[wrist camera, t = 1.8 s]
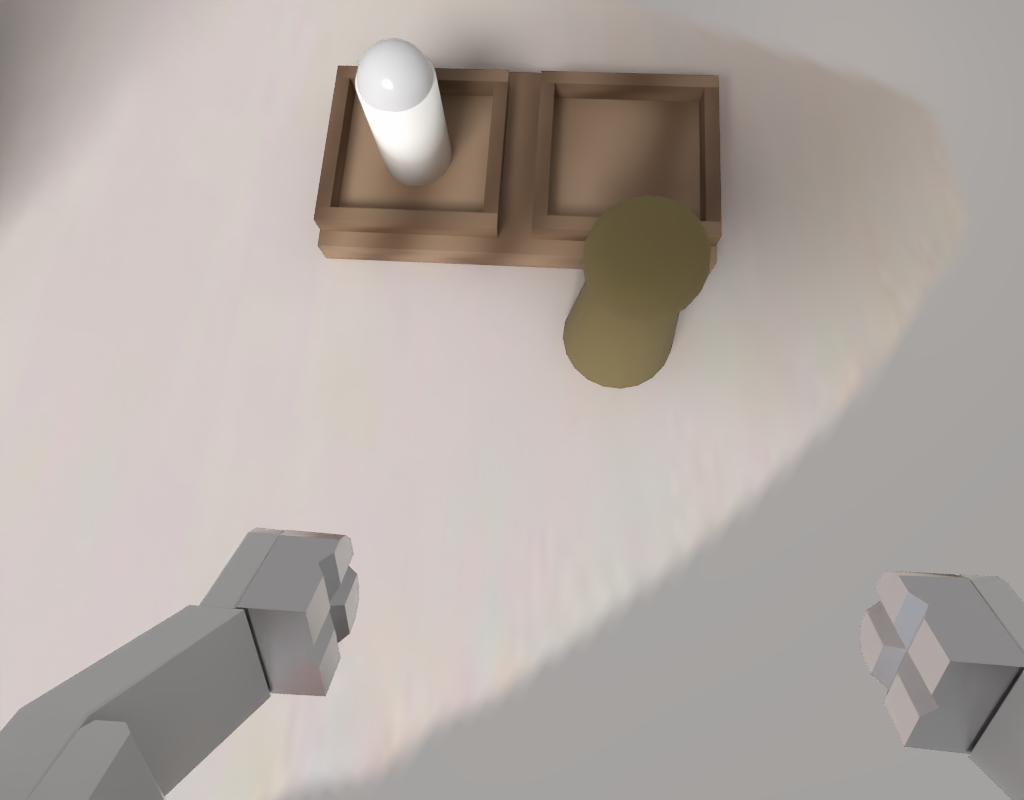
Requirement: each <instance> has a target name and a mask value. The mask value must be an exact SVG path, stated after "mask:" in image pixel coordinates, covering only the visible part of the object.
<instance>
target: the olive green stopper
mask: <svg viewBox="0 0 1024 800" xmlns="http://www.w3.org/2000/svg"><path fill="white" fill-rule="evenodd" d="M710 256H711V246H710V243H709V239H708V236H707V232H706V230H705V229H704V227H703V226H702V224H701V223H700V221H699V220H698V218H697V217H696V216H695V215H694V214H693V213H692V212H691V211H690V210H688V209H687V208H686V207H684V206H683V205H682V204H681V203H678V202H676V201H673V200H671V199H668V198H666V197H661V196H651V195H645V196H639V197H633V198H628V199H625V200H623V201H621V202H619V203H617V204H615V205H613V206H611V207H609V208H608V209H607V210H606V211H605V212H604V213H603V214H602V215H601V216H600V217H599V218H598V219H597V221H596V222H595V223H594V225H593V227H592V229H591V231H590V233H589V235H588V236H587V238H586V240H585V248H584V256H583V264H582V265H583V270H584V274H585V279H586V282H585V284H584V286H583V288H582V290H581V292H580V294H579V296H578V297H577V299H576V301H575V303H574V305H573V307H572V309H571V311H570V313H569V315H568V317H567V319H566V321H565V327H564V335H563V340H564V344H565V349H566V354H567V355H568V357H569V359H570V361H571V362H572V364H573V366H574V367H575V369H577V370H578V371H579V372H580V373H581V374H582V375H583V376H584V377H586V378H587V379H588V380H590V381H593V382H595V383H597V384H599V385H601V386H605V387H613V388H626V387H632V386H637V385H639V384H641V383H643V382H645V381H647V380H649V379H651V378H653V376H654V375H655V374H656V373H657V372H658V371H659V370H660V369H661V368H662V367H663V366H664V364H665V362H666V360H667V357H668V355H669V353H670V351H671V347H672V342H673V338H674V333H675V329H676V325H677V320H678V316H679V312H680V311H681V310H683V309H685V308H686V307H687V306H688V305H689V304H690V303H691V302H692V301H693V300H694V299H695V298H696V297H697V295H698V294H699V293H700V291H701V290H702V288H703V285H704V283H705V281H706V279H707V276H708V274H709V270H710Z"/></svg>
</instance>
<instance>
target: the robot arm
mask: <svg viewBox="0 0 1024 800" xmlns="http://www.w3.org/2000/svg"><path fill="white" fill-rule="evenodd" d="M353 554H354V553H353V548H352V544H351V539H350V538H349V537H348V536H346V535H338V534H327V533H316V532H305V531H294V530H286V531H285V530H275V529H264V528H255V529H254V530H252V531H250V532H249V533H248V534H247V535H246V536H245V538H244V539H243V541H242V542H241V544H240V545H239V547H238V548H237V550H236V551H235V553H234V554H233V556H232V557H231V559H230V560H229V562H228V563H227V565H226V566H225V568H224V569H223V571H222V572H221V574H220V575H219V577H218V578H217V580H216V581H215V583H214V584H213V586H212V587H211V589H210V590H209V592H208V593H207V594H206V596H205V597H204V599H203V600H202V602H201V603H200V605H199V606H194V605H189V606H187V607H186V608H184V609H183V610H181V611H179V612H178V613H176V614H174V615H173V616H171V617H169V618H168V619H166V620H165V621H163V622H161V623H160V624H158V625H156V626H155V627H153V628H151V629H150V630H148V631H147V632H145V633H143V634H142V635H140V636H138V637H137V638H135V639H133V640H132V641H130V642H129V643H127V644H125V645H124V646H122V647H120V648H119V649H117V650H115V651H114V652H112V653H111V654H109V655H107V656H106V657H104V658H102V659H101V660H99V661H97V662H96V663H94V664H93V665H91V666H89V667H88V668H86V669H84V670H83V671H81V672H79V673H78V674H76V675H75V676H73V677H71V678H70V679H68V680H66V681H65V682H63V683H61V684H60V685H58V686H57V687H55V688H53V689H52V690H50V691H48V692H47V693H45V694H43V695H42V696H40V697H39V698H37V699H35V700H34V701H32V702H30V703H29V704H27V705H25V706H24V707H22V708H21V709H19V710H18V711H17V713H16V714H15V715H14V716H13V717H12V719H11V720H10V721H9V722H8V723H7V725H6V726H5V727H4V728H3V729H2V731H1V732H0V800H166V799H165V797H164V796H165V795H166V794H168V793H169V792H170V791H171V790H172V789H173V788H174V787H175V786H176V785H177V784H178V783H179V782H180V781H181V780H182V779H183V778H185V777H186V776H187V775H188V774H189V773H190V772H191V771H192V770H193V769H194V768H195V767H196V766H197V765H198V764H199V763H200V762H202V761H203V760H204V759H205V758H206V757H207V756H208V755H209V754H210V753H211V752H212V751H213V750H214V749H215V748H216V747H217V746H219V745H220V744H221V743H222V742H223V741H224V740H225V739H226V738H227V737H228V736H229V735H230V734H231V733H232V732H233V731H234V730H235V729H237V728H238V727H239V726H240V725H241V724H242V723H243V722H244V721H245V720H246V719H247V718H248V717H249V716H250V715H251V714H252V713H254V712H255V711H256V710H257V709H258V708H259V707H260V706H261V705H262V704H263V703H264V702H265V701H266V700H267V699H268V698H269V697H270V693H278V694H296V695H313V696H326V694H327V691H328V689H329V686H330V683H331V681H332V678H333V676H334V673H335V671H336V668H337V666H338V663H339V660H340V653H339V648H338V642H340V641H341V640H342V639H344V638H345V637H346V636H347V635H349V634H350V632H351V629H352V626H353V623H354V620H355V618H356V612H357V607H358V601H359V583H358V576H357V573H356V572H354V571H353V570H352V569H351V568H350V567H349V563H350V561H351V559H352V556H353ZM875 590H876V592H877V594H878V596H879V598H880V600H881V601H879V602H878V603H876V604H875V605H873V606H872V607H870V608H869V609H867V610H866V612H865V615H864V618H863V621H862V624H861V626H860V627H861V628H860V631H861V632H860V635H861V636H860V638H861V640H860V642H861V648H862V653H863V657H864V660H865V662H866V664H867V667H868V669H869V671H870V674H871V675H872V676H873V677H874V678H876V679H877V680H878V681H879V682H880V683H881V684H883V685H884V686H885V687H886V688H887V689H888V692H887V694H886V697H885V700H884V704H885V707H886V709H887V711H888V713H889V715H890V717H891V719H892V722H893V724H894V726H895V728H896V730H897V732H898V734H899V736H900V739H901V741H902V743H903V745H904V746H905V747H913V748H922V749H930V750H939V751H948V752H957V753H966V754H970V755H969V758H970V759H971V760H972V761H973V762H974V763H975V764H976V765H977V766H978V767H979V768H980V769H981V770H982V771H983V772H984V773H985V774H986V775H987V776H988V777H989V778H990V779H991V780H992V781H993V782H994V783H996V785H997V786H998V787H1000V788H1001V789H1002V790H1003V791H1004V792H1005V793H1006V794H1007V795H1008V796H1009V797H1010V798H1011V799H1012V800H1024V603H1023V601H1022V600H1021V599H1020V598H1019V597H1018V595H1017V594H1016V593H1015V591H1014V590H1013V589H1012V588H1011V586H1010V585H1009V584H1008V583H1007V582H1005V581H1004V580H1002V579H1001V578H999V577H997V576H979V575H954V574H937V573H920V572H903V571H886V572H885V573H884V574H883V575H882V576H881V577H880V578H879V581H878V583H877V585H876V588H875Z"/></svg>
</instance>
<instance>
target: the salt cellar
mask: <svg viewBox="0 0 1024 800" xmlns="http://www.w3.org/2000/svg"><path fill="white" fill-rule="evenodd" d="M355 88H356V92H357V94H358V97H359V100H360V102H361V105H362V107H363V110H364V113H365V115H366V118H367V120H368V123H369V126H370V128H371V131H372V133H373V136H374V139H375V141H376V144H377V146H378V149H379V152H380V154H381V157H382V159H383V162H384V165H385V167H386V170H387V171H388V173H389V174H390V176H391V177H392V178H394V179H395V180H396V181H398V182H400V183H402V184H404V185H408V186H423V185H427V184H430V183H432V182H434V181H436V180H438V179H439V178H440V177H441V176H443V175H444V173H445V172H446V171H447V169H448V168H449V166H450V163H451V159H452V150H451V145H450V140H449V135H448V130H447V125H446V120H445V116H444V111H443V106H442V101H441V96H440V91H439V87H438V82H437V77H436V72H435V69H434V66H433V64H432V62H431V61H430V59H429V58H428V57H427V56H426V55H425V54H424V53H423V52H422V51H421V50H420V49H419V48H417V47H416V46H415V45H413V44H412V43H410V42H408V41H405V40H402V39H397V38H388V39H383V40H380V41H378V42H376V43H374V44H373V45H372V46H370V47H369V48H368V49H367V50H366V52H365V53H364V54H363V56H362V58H361V60H360V62H359V65H358V70H357V74H356V78H355Z"/></svg>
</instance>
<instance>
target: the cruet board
mask: <svg viewBox="0 0 1024 800" xmlns="http://www.w3.org/2000/svg"><path fill="white" fill-rule="evenodd" d="M434 69H435V72H436V77H437V82H438V87H439V91H440V96H441V101H442V106H443V111H444V116H445V120H446V125H447V130H448V135H449V140H450V145H451V150H452V159H451V163H450V166H449V168H448V169H447V171H446V172H445V173H444V175H443V176H441V177H440V178H439V179H438V180H436V181H434V182H432V183H430V184H427V185H423V186H408V185H404V184H402V183H400V182H398V181H396V180H395V179H394V178H392V177H391V176H390V174H389V173H388V171H387V170H386V167H385V165H384V162H383V159H382V157H381V154H380V152H379V149H378V146H377V144H376V141H375V139H374V136H373V133H372V131H371V128H370V126H369V123H368V120H367V118H366V115H365V113H364V110H363V107H362V105H361V102H360V100H359V97H358V94H357V92H356V88H355V78H356V74H357V70H358V66H338V69H337V75H336V82H335V88H334V94H333V101H332V107H331V113H330V120H329V126H328V132H327V139H326V145H325V151H324V157H323V164H322V170H321V176H320V183H319V189H318V195H317V202H316V208H315V214H314V221H315V222H316V224H317V225H318V227H319V228H320V234H319V241H318V247H319V248H320V250H321V251H322V253H323V254H324V255H325V257H326V258H337V259H361V260H384V261H408V262H431V263H455V264H479V265H502V266H526V267H549V268H573V269H583V265H582V264H583V256H584V248H585V240H586V238H587V236H588V235H589V233H590V231H591V229H592V227H593V225H594V223H595V222H596V221H597V219H598V218H599V217H600V216H601V215H602V214H603V213H604V212H605V211H606V210H607V209H608V208H609V207H611V206H613V205H615V204H617V203H619V202H621V201H623V200H625V199H628V198H633V197H639V196H645V195H651V196H661V197H666V198H668V199H671V200H673V201H676V202H678V203H681V204H682V205H683V206H684V207H686V208H687V209H688V210H690V211H691V212H692V213H693V214H694V215H695V216H696V217H697V218H698V220H699V221H700V223H701V224H702V226H703V227H704V229H705V230H706V232H707V236H708V239H709V243H710V246H711V256H710V270H709V274H710V272H711V270H712V269H713V267H714V265H715V264H716V244H717V242H718V241H719V239H720V237H721V235H722V232H721V180H720V129H719V77H718V76H714V75H676V74H638V73H599V72H561V71H542V73H529V72H509V70H484V69H446V68H434Z"/></svg>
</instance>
